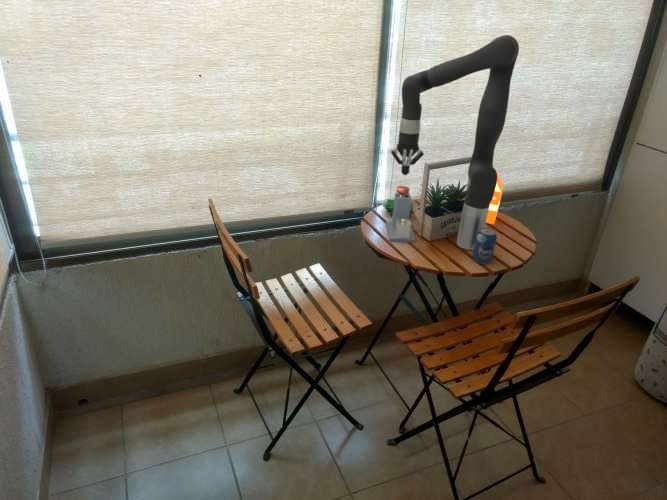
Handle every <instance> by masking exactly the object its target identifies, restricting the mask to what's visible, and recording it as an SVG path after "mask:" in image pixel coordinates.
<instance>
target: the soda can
mask: <svg viewBox="0 0 667 500" xmlns="http://www.w3.org/2000/svg"><path fill="white" fill-rule="evenodd" d="M497 236H498V235H497V231H496V230H495V229H493V228H490V227H487V228H481V229H480V231H479V232H478V233H477V237H476V242H475V247H474V250H472V251H473V252H472V259H473V260H474V262H476V263H477V262H478V264H480V263H481V264H480V265H487V263H488V264H489V263H490V262H491V261H492V260H493V256H494V251H495V247H496V243H497V239H498V237H497Z"/></svg>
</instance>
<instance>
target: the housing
mask: <svg viewBox="0 0 667 500" xmlns="http://www.w3.org/2000/svg"><path fill="white" fill-rule="evenodd" d="M410 227H412V224H411V221H410V218H409V219H405V218H402V219H396V226H395V236H396V238H400V239H409V235H410Z"/></svg>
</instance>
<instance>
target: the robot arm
mask: <svg viewBox="0 0 667 500" xmlns="http://www.w3.org/2000/svg"><path fill="white" fill-rule="evenodd" d="M519 50H520V46H519V42H518V41H517V39H516V38H515V37H514V36H512V35H509V34H504V35H501V36H497V37H496V38H494V39H493V40H492V41H490V42H489V43H487V44H485V45H484V46H481V47H479V49H477V50H475V51H473V52H470V53H468V54H465V55H462V56H459V57H456V58H452V59H450V60H447V61H444V62H442V63H439V64H436V65H434V66H432V67H430V68H429V69H426V70H422V71H419V72H417V73H413V74H412V75H409V76H407V77H406V78H404V81H403V82H402V85H401V86H402V87H401V100H402V108H401V109H402V110H401V119H400V123H399V124H400V125H399V133H398V143H397V144H396V147H395V148H394V149H390V154H391V156H393V159H395V161H396V162H397V164H398V165H401V174H402V175H403V176H408V174H409V173H410V167H411V166H413V165H415V164H416V163H417V162H418V161H420V159H421V158H423V156H425V153H424V151H423V150H421V149H420V146H419V142H420V141H419V140H420V133H421V117H422V109H423V106H422V103H421V102H420V98H421V94H422V93H425V92H426V91H428V90H431V89H434V88H438V87H442V86H445V85H447V84H450V83H453V82H454V81H458V80H460V79H461V78H464V77H466V76H469V75H471V74H474V73H477V72H481V71H484V70H488V69H489V75H488V80H487V83H486V87H485V88H484V91H483V95H482V96H481V100H480V104H479V108H478V114H477V119H476V129H475V135H474V146H473V152H472V156H471V157H470V163H469V166H468V170H467V176H468V179H469V180H470V182H469V186H468V187H469V188H468V191H467V194H466V195H465V196H464V201H463V206H462V211H461V216H460V217H461V218H460V223H459V228H458V229H459V230H458V233H457V240H456V244H457V246H458V247H460V248H461V249H464V250H468V251H469V250H470V251H474V247H475V242H476V237H477V233H478V232H479V231H480V229H481V228H488V226H487V223H486V220H487V215H488V210H489V206H490V202H491V201H492V199H493V196H494V192H495V188H496V183H497V173H498V172H497V170H496V169H495V167H494V164H493V163H494V156H495V155H494V154H495V148H496V145H497V143H498V142H499V139H500V136H501V134H502V132H503V129H504V126H505V123H506V119H507V114H508V113H507V112H508V104H509V100H510V99H509V97H510V88H511V81H512V76H513V72H514V68H515V65H516V63H517V59H518V55H519V52H520V51H519ZM398 153H399V155H400V156H401V158H400V157H399V156H398ZM413 156H414V157H413Z"/></svg>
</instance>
